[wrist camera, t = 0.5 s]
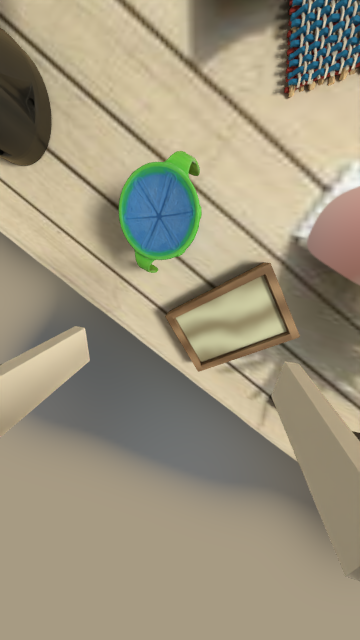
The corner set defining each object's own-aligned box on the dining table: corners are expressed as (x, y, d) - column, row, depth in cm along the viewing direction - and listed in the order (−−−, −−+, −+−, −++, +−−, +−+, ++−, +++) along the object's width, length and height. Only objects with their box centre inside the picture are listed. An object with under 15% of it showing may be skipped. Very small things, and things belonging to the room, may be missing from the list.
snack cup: (175, 281, 33) (160, 290, 24) (132, 250, 33) (99, 247, 23) (226, 201, 27) (233, 171, 18) (173, 161, 26) (151, 109, 17)
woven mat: (378, 73, 20) (395, 54, 18) (281, 104, 22) (287, 90, 21) (404, -74, 17) (428, -116, 15) (286, -19, 19) (294, -48, 17)
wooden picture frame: (169, 311, 36) (165, 316, 32) (264, 262, 29) (270, 263, 26) (199, 362, 39) (198, 371, 35) (291, 328, 32) (300, 336, 29)
